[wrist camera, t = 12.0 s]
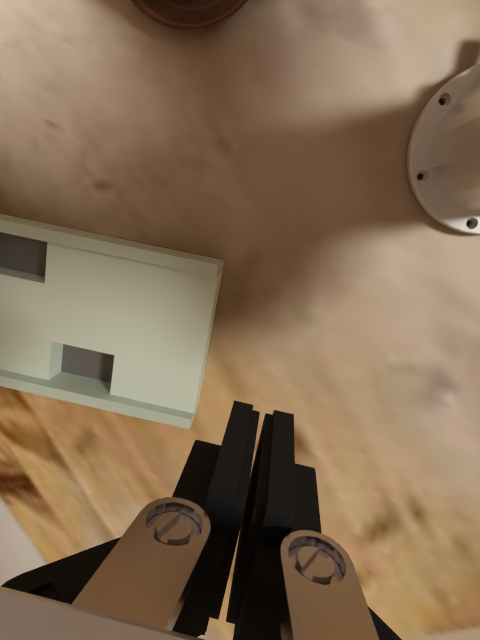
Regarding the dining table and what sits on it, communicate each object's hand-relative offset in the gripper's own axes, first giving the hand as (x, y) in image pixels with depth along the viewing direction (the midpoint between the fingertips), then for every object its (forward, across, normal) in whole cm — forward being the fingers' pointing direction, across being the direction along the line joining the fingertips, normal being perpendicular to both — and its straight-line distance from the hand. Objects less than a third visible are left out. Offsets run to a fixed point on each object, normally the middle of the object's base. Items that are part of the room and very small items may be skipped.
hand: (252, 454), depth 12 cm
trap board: (+27, +18, +6) cm, 33 cm away
